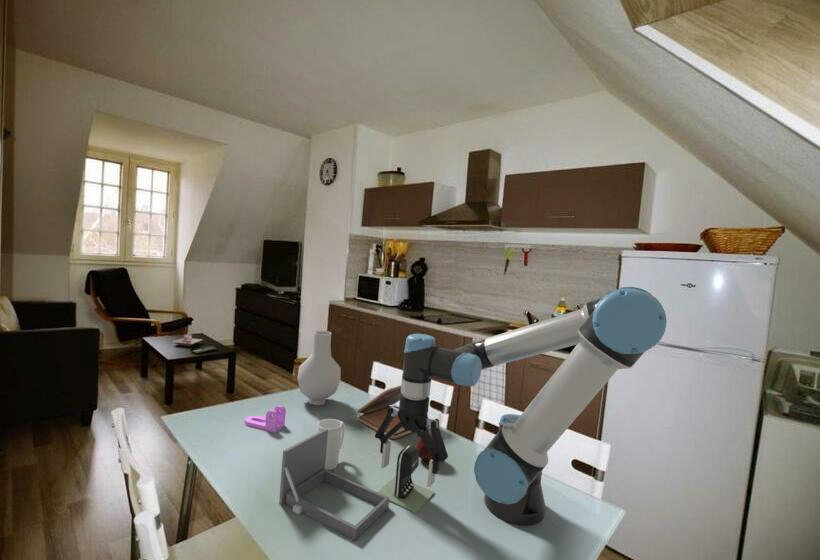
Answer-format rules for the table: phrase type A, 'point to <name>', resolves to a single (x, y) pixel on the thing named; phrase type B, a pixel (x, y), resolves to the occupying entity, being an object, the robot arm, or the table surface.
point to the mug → (332, 440)
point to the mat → (412, 501)
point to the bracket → (268, 420)
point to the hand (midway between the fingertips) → (407, 475)
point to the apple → (423, 450)
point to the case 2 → (382, 412)
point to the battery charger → (406, 471)
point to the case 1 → (308, 470)
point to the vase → (319, 371)
